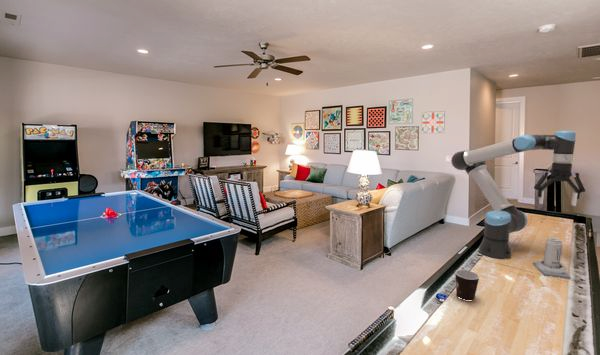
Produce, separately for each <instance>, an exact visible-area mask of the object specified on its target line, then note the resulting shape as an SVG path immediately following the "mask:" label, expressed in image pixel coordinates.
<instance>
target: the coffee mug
mask: <svg viewBox="0 0 600 355" xmlns="http://www.w3.org/2000/svg"><path fill="white" fill-rule="evenodd" d="M454 275H455V288H456V290H455V291H456V292H455V293H456V294H455V295H456V297H457V296H458V297H460V298H462V299H465V300H473V299H474V300H475V297H476V294H477V293H476V292H477V289H478V284H479V280H480V275H479V274H478V273H476V272H475V271H472V270H468V269H457V270H455V273H454ZM458 297H457V298H458ZM474 300H473V301H474Z"/></svg>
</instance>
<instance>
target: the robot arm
mask: <svg viewBox="0 0 600 355" xmlns="http://www.w3.org/2000/svg"><path fill="white" fill-rule="evenodd" d="M575 144H576V132H575V131H574V130H557V131H555V134H523V135H519V136H517V137H515V138H511V139H509V140H505V141H501V142H498V143H493V144H491V145H487V146H484V147H479V148H476V149H473V150H470V149H465V150H461V151H457V152H455V153H454V154H453V155H452V157H451V159H450V161H451V165H452V166H453V167H454V168H455V169H456V170H459V171H465V172H466V174H467V175H468V176H471V177H472V178H473V180H474V181H475V183H476V184H477V186H478V188H479V189H480V190H481V192H482V194H483V195H484V196H485V198H486V200H487V202H488V203H489V205H490V206H491V207H492V209H493V210H490V211H487V212H486V214H485V217H484V228H483V230H484V231H483V238H482V240H481V242H480V244H479V247H478V252H479V253H480V254H482V255H483V256H486V257H489V258H493V259H501V260H505V259H506V260H507V259H510V258H512V250H511V247H510V243H509V240H510V239H509V238H510V234H512V233H517V232H519V231H521V230H523V229H525V228H526V227H527V224H528V217H527V215H526V213H524V212H523V211H522V210H519V209H517V208H516V206H515V205H514V204H511V203H510V202H509V201H508V198H506V196H505V195H504V193H503V191H501V189H500V187H499V185H498V184H497V183H496V182H495V180H494V179H493V177H492V175H491V174H490V173H489V171H488V170H487V167H488V165H487V163H486V161H488V160H489V161H491V160H493V159H498V158H502V157H506V156H510V155H514V154H517V153H524V152H526V151H536V150H543V151H544V150H545V151H547V150H550V151H553V152H552V153H553V154H552V155H553V156H552V163H551V170H550V172H549V171H543V172H542V176H541V177H540V178H539V180H538V181H537V183H536V184H535V185H534V186H533V189H534V190H537V198H538V204H540V205H543V203H544V196H545V191H544V190H545V189H546V188H548V186H550V185H551V184H552V183H554V182H566V183H567V184H568V185H569V186H570V187H571V188H572V189H573V192H572V195H571V196H572V197H571V206H573V207H576V206H577V200H579V199H580V194H581V193H584V192H586V188H585V187H584V184H583V183H582V181H581V178H580V173H579V172H572V168H573V164H572V162H574V161H573V160H574V152H575ZM549 176H551V177H549ZM548 177H549V178H548ZM570 177H573V179H574V181H575V183H576V184H575V183H574V182H573V181H572V179H570ZM546 179H547V180H546ZM545 180H546V181H545ZM576 185H577V186H576Z"/></svg>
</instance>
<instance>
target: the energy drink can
mask: <svg viewBox="0 0 600 355" xmlns="http://www.w3.org/2000/svg"><path fill="white" fill-rule="evenodd" d="M562 249H563V243H562V240H561V239H560V238H556V237H548V238H547V240H546V241H545V249H544V257H543V260H544V263H543V265H545V266H548V267H552V268H559V266H560V263H561V256H562V251H563V250H562Z"/></svg>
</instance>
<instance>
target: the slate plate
mask: <svg viewBox="0 0 600 355" xmlns="http://www.w3.org/2000/svg"><path fill="white" fill-rule="evenodd" d="M536 264H537V261H536V262H535V261H533V262H532V265H533V266H535V268H537V270H538V271H539V272H540V274H542V275H543V277H550V276H552V277H551V278H558V277H560V278H561V279H565V280H566V279H568V280H571V279H572V277H571V276H570V275H569V274H568V273H567V272H566V273H564V274H554V273H549V272H546V271H543V270H540V269H539V268H538V267H537V266H536ZM560 278H559V279H560Z"/></svg>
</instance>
